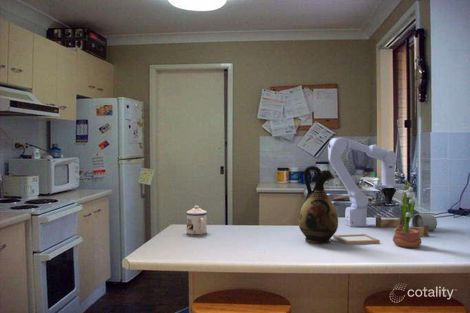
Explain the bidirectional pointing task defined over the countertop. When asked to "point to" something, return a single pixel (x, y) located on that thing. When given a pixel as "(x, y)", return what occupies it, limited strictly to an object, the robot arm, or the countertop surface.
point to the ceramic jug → (318, 209)
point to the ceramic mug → (424, 221)
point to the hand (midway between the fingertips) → (388, 203)
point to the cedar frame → (400, 225)
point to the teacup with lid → (196, 221)
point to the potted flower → (407, 222)
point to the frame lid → (356, 239)
